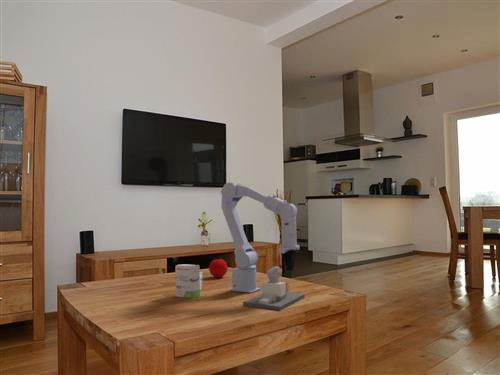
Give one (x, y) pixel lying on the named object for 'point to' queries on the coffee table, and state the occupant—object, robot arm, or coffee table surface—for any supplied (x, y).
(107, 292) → the coffee table surface
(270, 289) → the block
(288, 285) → the rail clip
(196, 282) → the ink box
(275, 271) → the grey sculpted head
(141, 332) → the coffee table surface
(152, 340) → the coffee table surface
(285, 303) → the rail board
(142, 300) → the coffee table surface
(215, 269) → the ornament
